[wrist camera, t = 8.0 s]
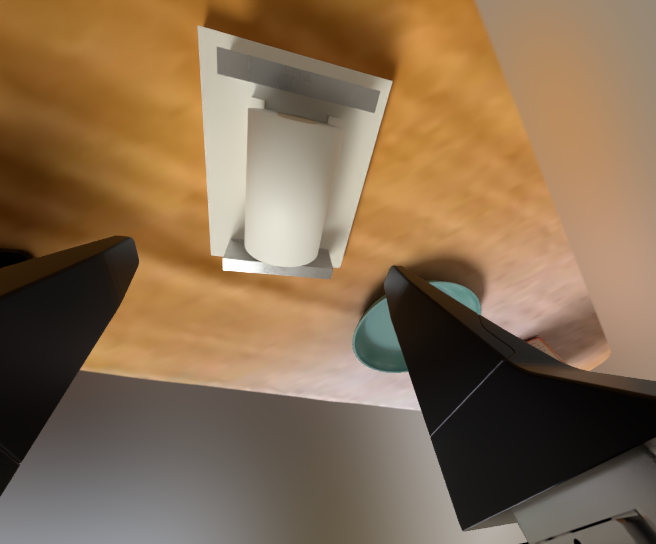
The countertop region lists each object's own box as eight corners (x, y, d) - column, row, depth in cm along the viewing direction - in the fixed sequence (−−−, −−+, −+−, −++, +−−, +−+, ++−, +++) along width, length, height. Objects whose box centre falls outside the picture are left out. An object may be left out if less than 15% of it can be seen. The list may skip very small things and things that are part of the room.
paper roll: (313, 234, 21) (322, 271, 17) (247, 227, 20) (240, 264, 16) (335, 122, 16) (354, 134, 12) (252, 103, 15) (243, 109, 11)
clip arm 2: (361, 109, 16) (374, 113, 14) (228, 76, 14) (217, 73, 12) (365, 90, 16) (380, 90, 13) (228, 53, 14) (216, 46, 11)
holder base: (338, 261, 24) (341, 273, 23) (214, 249, 22) (208, 260, 20) (387, 81, 16) (397, 80, 15) (202, 28, 14) (192, 21, 12)
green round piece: (474, 328, 34) (486, 344, 32) (371, 368, 36) (377, 386, 34) (460, 244, 25) (476, 258, 23) (327, 303, 27) (330, 321, 25)
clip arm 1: (325, 258, 22) (330, 279, 20) (230, 248, 21) (223, 270, 18) (328, 249, 22) (333, 269, 20) (230, 238, 20) (222, 258, 18)
